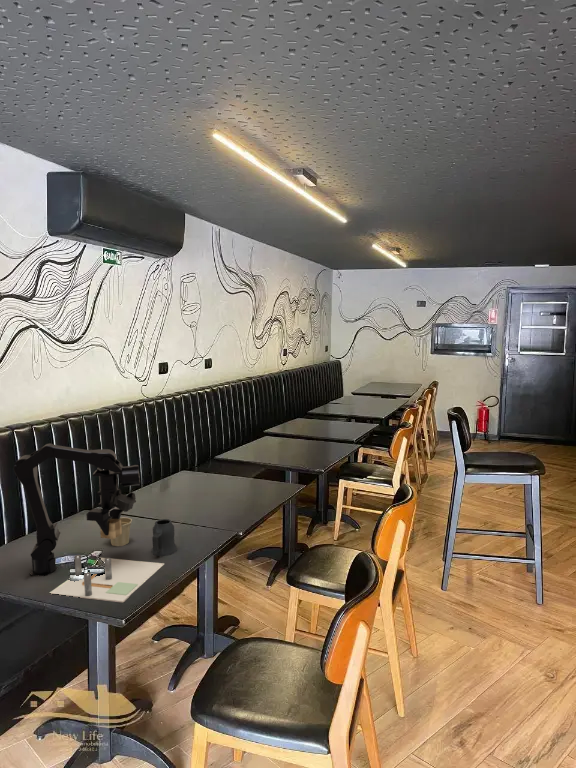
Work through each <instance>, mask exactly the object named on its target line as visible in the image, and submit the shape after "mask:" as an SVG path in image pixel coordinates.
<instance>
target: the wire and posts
mask: <svg viewBox="0 0 576 768" xmlns="http://www.w3.org/2000/svg"><path fill="white" fill-rule="evenodd" d="M73 558H74V572H75V573H74V575H76V576H79V575H81V572H82V569H83V568H82V555H81V554H76V555H74V556H73ZM104 558H105V578H106V580H110V579H112V566H111V559H112V558H111V557H104ZM96 575H97V574H93V575H92V576H91V573H89V572H88V573H85V574H84V582H82V585H84V588H85V596H91V595H92V586H93V587H103V588H111V587H113V585H106V584H97V583H91V580H92V579H93V578H94V577H95V576H96Z"/></svg>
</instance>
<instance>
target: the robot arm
mask: <svg viewBox="0 0 576 768" xmlns="http://www.w3.org/2000/svg"><path fill="white" fill-rule="evenodd" d="M50 458H52V459H57V460H58V459H59V460H63V461H64V460H66V461H73V462H77V463H78V462H79V463H83V464H84V463H86V464H88V465H90V466H93V467H95V468H97V469H96V470H95V471H93V473H92V477H98V479H99V480H98V481H99V482H98V483H99V491H97V492H96V493H97V496H99V497H100V502H99V503H97V507H98V508H97V507H95V508H93V509H91V510H89V511H88V512H87V513H86V514H85V515H86V521H91V522H96V523H97V525H98V526H99V529H100V528H101V529H102V531H103V533H104V534H105V535H106V536H108V535H109V520H110V519H120V518H121V516H122V513H123V512H125V513H126V512H129V511H130V510H133V507H134V504H135V503H136V502H137V500H136V493H135V492H133V491H131V492H128V494H126V493H125V494H123V493H122V489H121V488H118V484H120V485H121V486H122V487H133V486H140V485H141V479H140V471H139V465H138V464H134V465H128V466H126V465H125V466H123V464H122V463H121V462H120V461H119V460H118V459H117V455H116V452H115V451H113V450H112V449H110V448H109V449H108V448H107V449H101V448H99V449H83V448H76V447H70V446H65V445H63V446H62V445H59V444H58V445H57V444H53V443H46V444H45V445H44V446H42V447H40V448H39V449H37V450H35V451H34V452H32V453H30V454H24V455H22V456H20V457H19V459H18V460H16V462H15V463H14V464H13V472H14V474H15V476H16V478H17V479H18V481H19V482H20V484H21V485H22V486H23V488H24V491H25V495H26V497H27V501H28V504H29V507H30V510H31V514H32V517H33V521H34V523H35V526H36V543H35V545H34V547H33V549H31V553H30V557H31V568H32V570H31V571H30V573H31V574H32V575H31V576H33V575H34V576H38V575H39V577H47V576H49V575H51V574H52V573H53V572H54V570H55V571H56V570H58V569H59V567H58V566H56V565H57V564H56V557H55V553H54V552H53V551H54V550H55V548H56V547H57V544H58V542H59V539H60V536H61V531H59V527H58V526H59V525H58V523H57V522H55V523H52V521H51V520H50V517H49V515H48V511H47V508H46V504H45V501H44V497H43V494H42V492H41V488H40V485H39V484H40V483H39V481H38V466H39V465H40V464H42V463H43V462H44V461H46V460H48V459H50ZM118 482H119V483H118ZM57 568H58V569H57ZM30 573H29V574H30ZM29 574H28V575H29Z"/></svg>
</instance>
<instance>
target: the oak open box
mask: <svg viewBox="0 0 576 768" xmlns="http://www.w3.org/2000/svg"><path fill="white" fill-rule="evenodd" d="M99 530H100V532H99V533H100V539H109V540H111V539H115V538H116V537H118V536H119V535H121V534H122V525H121V519H110V520H109V535H108V536H106V535H105V534H104V533H103V531H102V529H101V528H100V527H99Z"/></svg>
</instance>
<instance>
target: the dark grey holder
mask: <svg viewBox="0 0 576 768" xmlns="http://www.w3.org/2000/svg"><path fill="white" fill-rule="evenodd" d="M151 538H152V549H151V554H152V555H153V556H156V557H167V556H171V555H173V554H175V553H176V552H177V551H178V548H177V545H176V543H175V525H174V523H173V522H172V520H171V519H167V518H163V519H157V520H156V521H154V524H153V527H152V537H151Z"/></svg>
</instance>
